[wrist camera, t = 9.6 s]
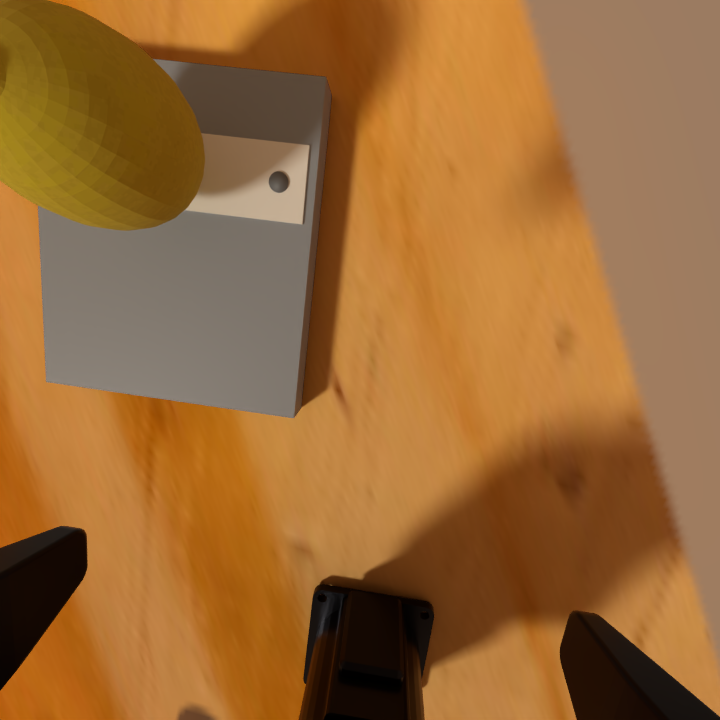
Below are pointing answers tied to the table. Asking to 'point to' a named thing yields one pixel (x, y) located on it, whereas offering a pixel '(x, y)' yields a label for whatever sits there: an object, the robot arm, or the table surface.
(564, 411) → the table surface
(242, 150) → the grey flat block
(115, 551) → the table surface
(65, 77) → the lemon
